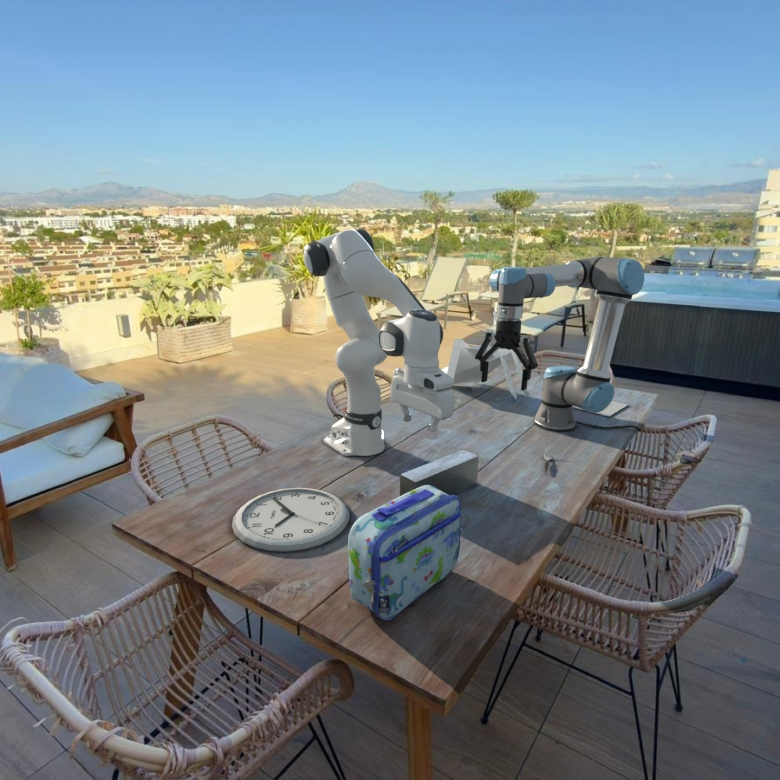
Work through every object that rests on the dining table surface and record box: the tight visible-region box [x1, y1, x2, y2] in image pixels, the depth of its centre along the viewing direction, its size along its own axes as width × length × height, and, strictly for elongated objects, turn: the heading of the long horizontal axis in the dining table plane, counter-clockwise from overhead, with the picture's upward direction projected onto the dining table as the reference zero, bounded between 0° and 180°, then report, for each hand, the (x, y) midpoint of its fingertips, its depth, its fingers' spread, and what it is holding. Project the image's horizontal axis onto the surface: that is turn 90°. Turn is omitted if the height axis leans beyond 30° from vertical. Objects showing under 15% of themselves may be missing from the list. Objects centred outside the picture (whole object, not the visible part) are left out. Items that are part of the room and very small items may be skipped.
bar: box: [399, 449, 480, 497], centre depth 149 cm, size 26×6×9 cm, turn 132°
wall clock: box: [231, 487, 351, 553], centre depth 136 cm, size 30×2×30 cm
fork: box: [543, 448, 554, 473], centre depth 170 cm, size 3×16×2 cm, turn 160°
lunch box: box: [347, 485, 462, 621], centre depth 107 cm, size 26×11×21 cm, turn 134°
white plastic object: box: [440, 310, 531, 400], centre depth 245 cm, size 37×45×31 cm
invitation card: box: [573, 400, 629, 418], centre depth 226 cm, size 21×1×15 cm
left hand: (419, 425), depth 137 cm, fingers open, 8 cm apart
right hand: (503, 385), depth 166 cm, fingers open, 13 cm apart
